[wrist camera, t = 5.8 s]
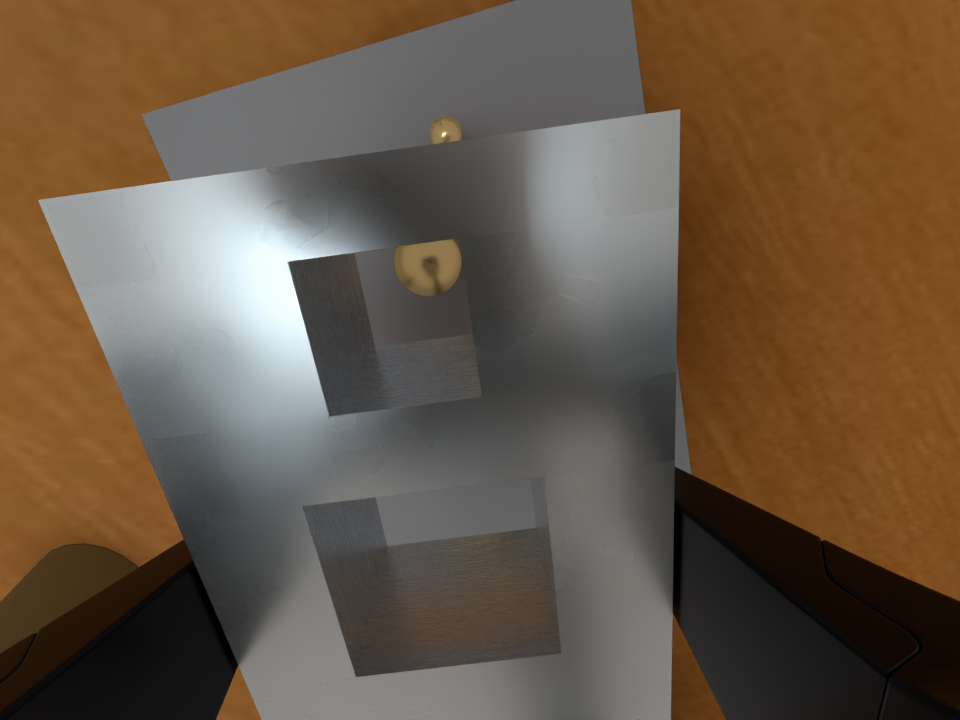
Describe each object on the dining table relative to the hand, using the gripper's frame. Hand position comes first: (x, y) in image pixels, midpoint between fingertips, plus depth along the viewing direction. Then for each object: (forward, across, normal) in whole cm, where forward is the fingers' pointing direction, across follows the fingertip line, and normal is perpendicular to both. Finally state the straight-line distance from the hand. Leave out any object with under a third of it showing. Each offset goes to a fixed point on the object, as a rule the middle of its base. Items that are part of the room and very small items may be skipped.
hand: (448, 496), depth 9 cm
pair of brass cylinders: (+11, 0, -5) cm, 12 cm away
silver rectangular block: (+1, 0, 0) cm, 1 cm away
